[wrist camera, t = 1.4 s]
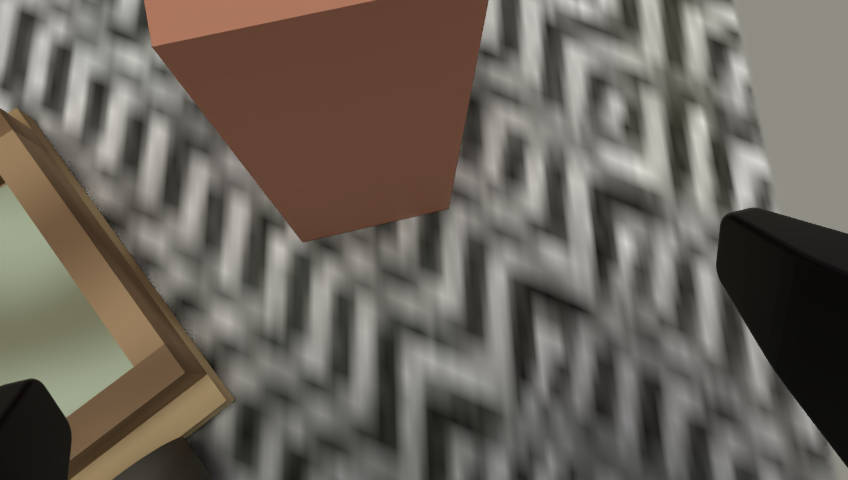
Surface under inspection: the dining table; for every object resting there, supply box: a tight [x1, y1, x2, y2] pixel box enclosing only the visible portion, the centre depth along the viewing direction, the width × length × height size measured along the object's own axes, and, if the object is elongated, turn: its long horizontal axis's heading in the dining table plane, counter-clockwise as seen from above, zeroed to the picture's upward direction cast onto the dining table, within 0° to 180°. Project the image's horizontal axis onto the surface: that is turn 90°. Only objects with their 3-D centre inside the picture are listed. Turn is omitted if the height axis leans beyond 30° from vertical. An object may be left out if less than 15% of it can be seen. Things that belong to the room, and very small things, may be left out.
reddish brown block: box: [144, 0, 489, 242], centre depth 16 cm, size 5×5×13 cm
